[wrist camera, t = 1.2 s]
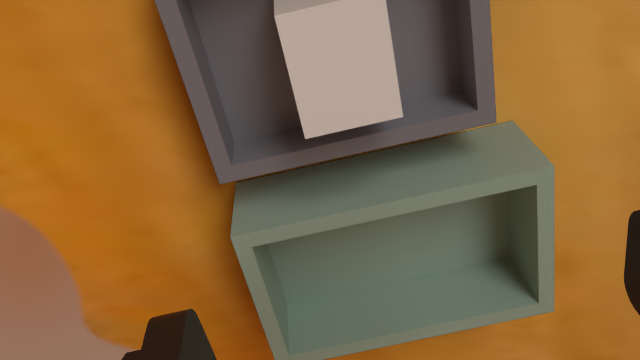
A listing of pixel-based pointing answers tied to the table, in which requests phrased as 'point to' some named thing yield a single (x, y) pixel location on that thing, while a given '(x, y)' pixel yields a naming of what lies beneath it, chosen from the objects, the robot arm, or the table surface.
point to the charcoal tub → (277, 94)
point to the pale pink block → (339, 63)
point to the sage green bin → (399, 243)
